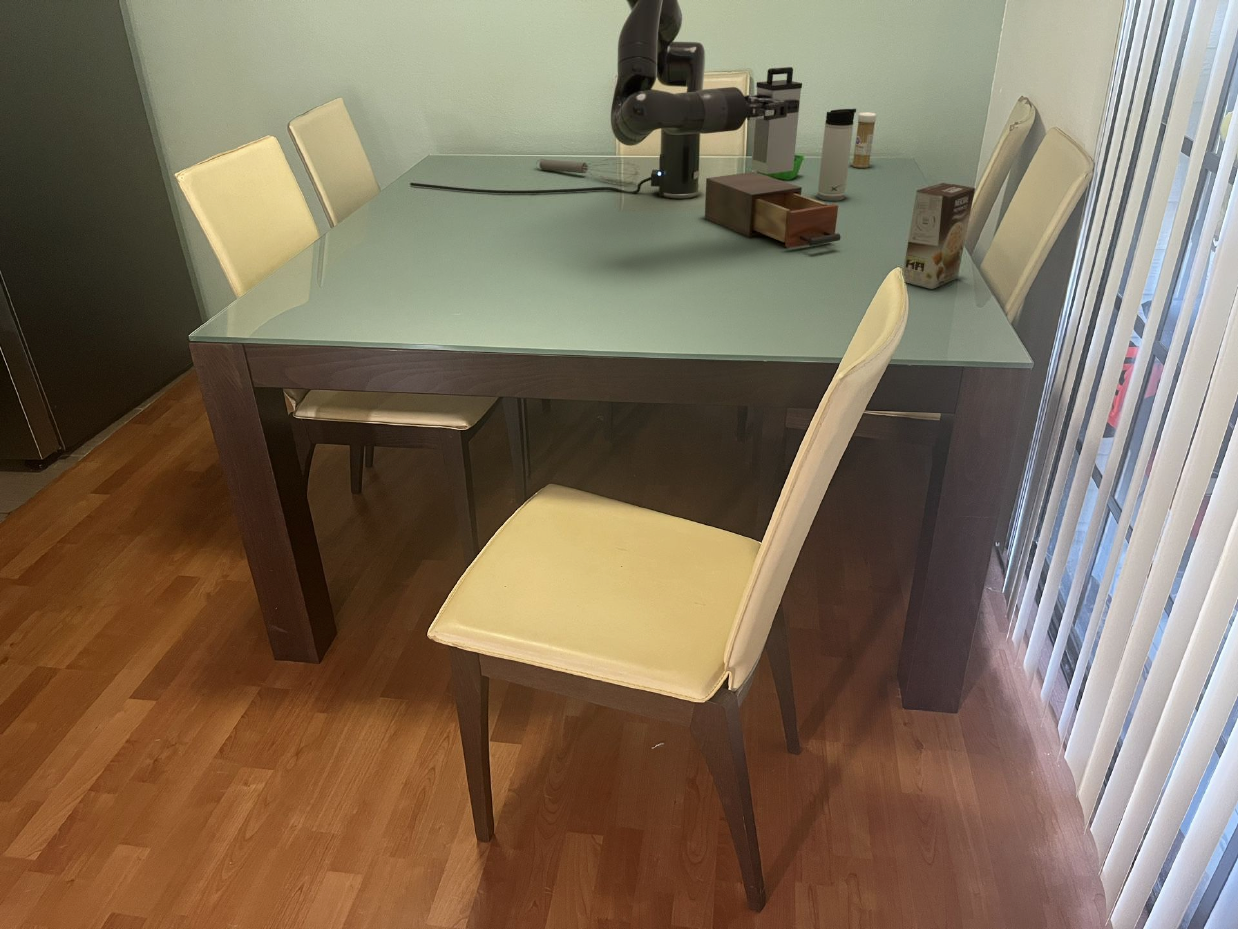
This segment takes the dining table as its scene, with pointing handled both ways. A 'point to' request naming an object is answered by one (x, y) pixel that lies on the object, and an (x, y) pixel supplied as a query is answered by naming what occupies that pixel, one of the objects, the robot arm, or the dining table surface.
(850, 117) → the travel mug
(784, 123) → the grater
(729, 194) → the cabinet
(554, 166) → the kitchen whisk
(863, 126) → the sprinkles bottle
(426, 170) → the dining table surface
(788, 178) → the fruit basket
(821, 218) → the drawer
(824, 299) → the dining table surface
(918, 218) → the coffee box
